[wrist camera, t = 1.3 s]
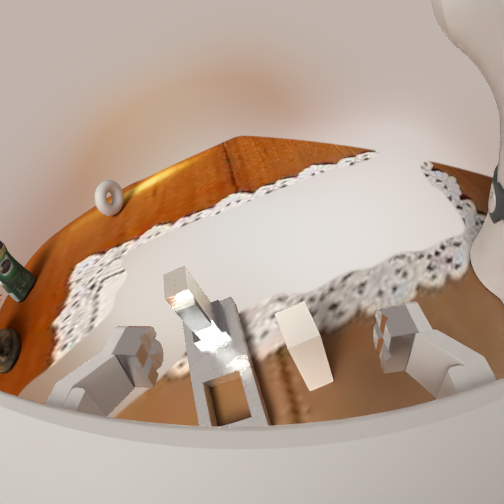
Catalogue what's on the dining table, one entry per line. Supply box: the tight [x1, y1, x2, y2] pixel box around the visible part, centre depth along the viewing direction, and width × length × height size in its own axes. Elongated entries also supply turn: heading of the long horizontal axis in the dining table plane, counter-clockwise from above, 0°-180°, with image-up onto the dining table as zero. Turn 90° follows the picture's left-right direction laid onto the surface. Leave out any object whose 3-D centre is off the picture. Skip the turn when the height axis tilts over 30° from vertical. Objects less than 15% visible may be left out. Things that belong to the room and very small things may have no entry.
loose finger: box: [275, 301, 333, 391], centre depth 32 cm, size 5×3×12 cm, turn 15°
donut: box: [95, 180, 124, 216], centre depth 79 cm, size 10×4×10 cm, turn 165°
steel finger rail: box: [164, 266, 272, 427], centre depth 35 cm, size 20×8×12 cm, turn 15°
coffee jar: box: [0, 241, 35, 302], centre depth 66 cm, size 10×8×19 cm
